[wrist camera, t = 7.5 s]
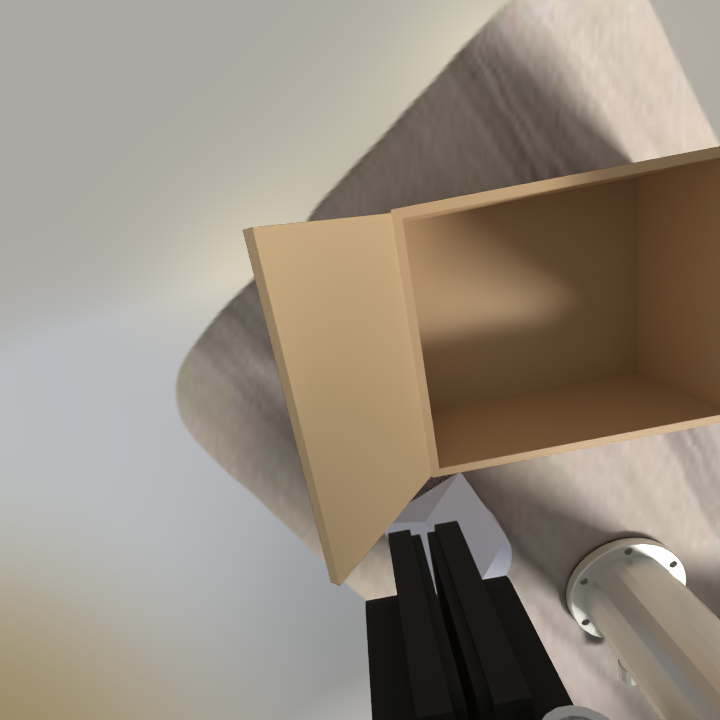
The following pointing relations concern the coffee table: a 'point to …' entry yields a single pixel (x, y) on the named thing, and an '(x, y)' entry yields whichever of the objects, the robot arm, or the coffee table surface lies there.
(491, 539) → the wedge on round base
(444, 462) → the carton
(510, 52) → the coffee table surface
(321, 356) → the flap
